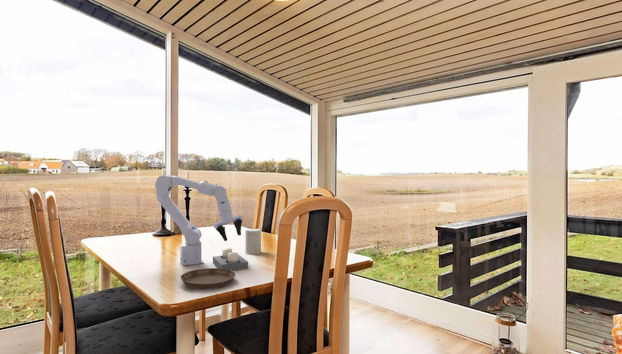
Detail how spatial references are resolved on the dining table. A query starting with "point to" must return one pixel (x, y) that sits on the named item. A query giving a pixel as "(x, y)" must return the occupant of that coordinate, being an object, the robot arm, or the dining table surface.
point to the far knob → (226, 252)
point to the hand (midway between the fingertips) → (232, 237)
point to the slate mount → (224, 264)
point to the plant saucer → (207, 278)
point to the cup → (253, 241)
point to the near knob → (232, 257)
